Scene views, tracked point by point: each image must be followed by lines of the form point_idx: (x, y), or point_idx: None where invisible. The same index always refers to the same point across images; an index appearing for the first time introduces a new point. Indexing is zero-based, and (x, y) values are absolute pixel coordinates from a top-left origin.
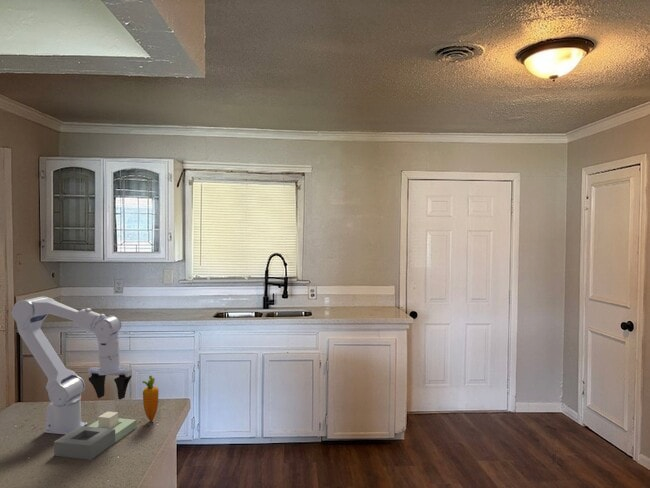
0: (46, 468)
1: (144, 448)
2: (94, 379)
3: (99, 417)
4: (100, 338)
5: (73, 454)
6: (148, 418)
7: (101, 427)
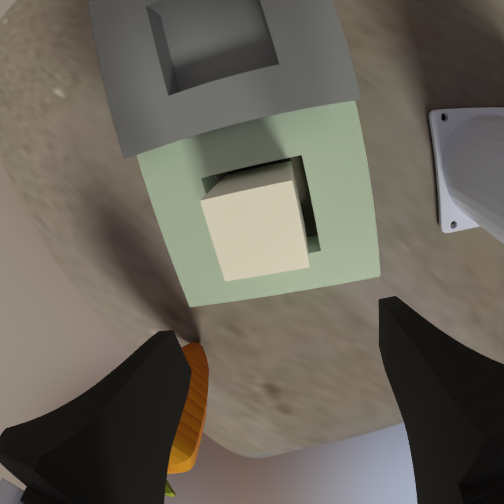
0: None
1: (39, 178)
2: (481, 442)
3: (282, 181)
4: None
5: None
6: (195, 345)
7: (271, 172)
